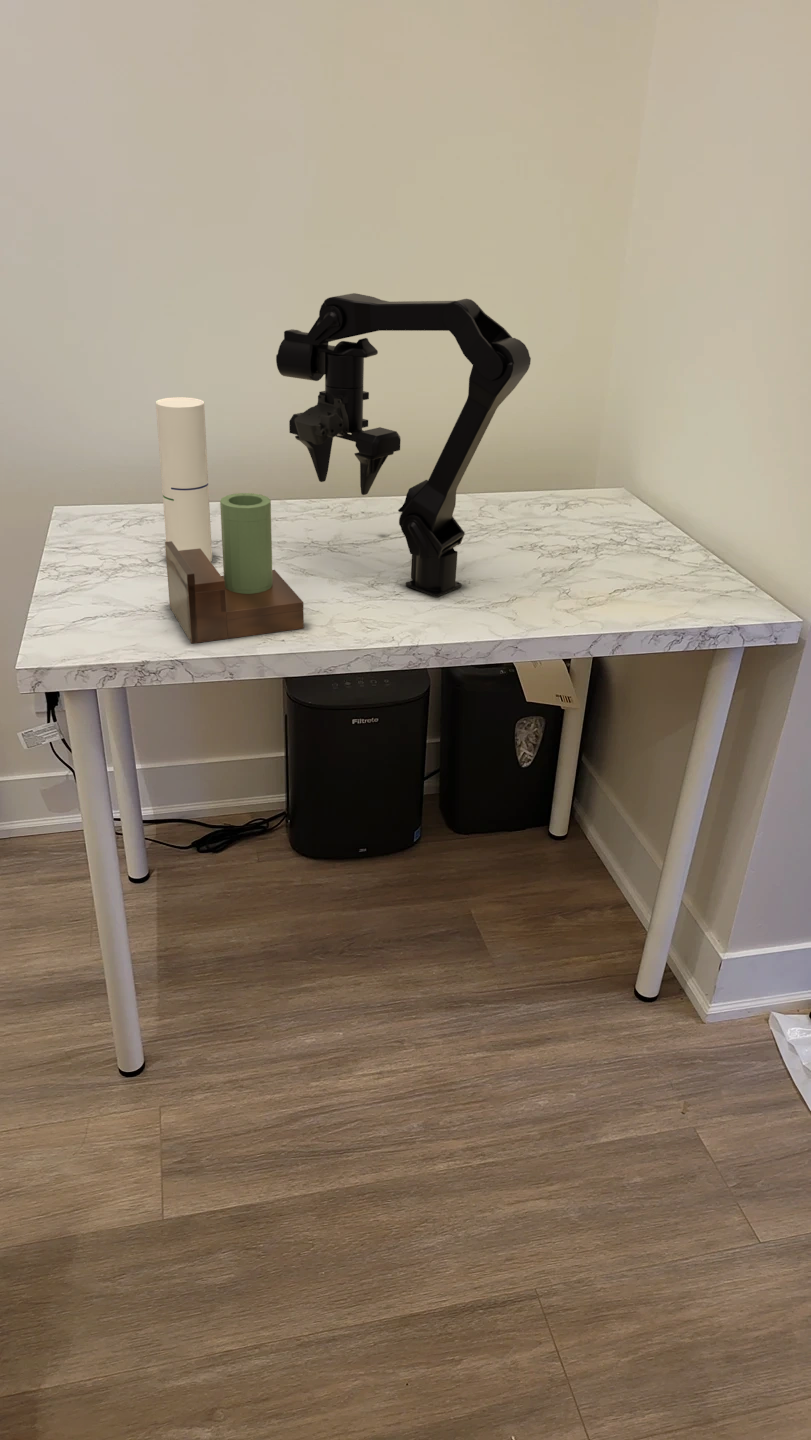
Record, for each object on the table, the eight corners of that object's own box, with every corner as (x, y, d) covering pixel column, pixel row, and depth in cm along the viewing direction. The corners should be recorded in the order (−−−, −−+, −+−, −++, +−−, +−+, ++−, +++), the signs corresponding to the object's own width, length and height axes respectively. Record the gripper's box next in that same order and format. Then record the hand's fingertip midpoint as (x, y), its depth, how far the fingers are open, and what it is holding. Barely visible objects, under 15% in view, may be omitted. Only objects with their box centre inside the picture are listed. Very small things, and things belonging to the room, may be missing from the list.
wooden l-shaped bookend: (275, 594, 156) (273, 530, 151) (303, 628, 146) (303, 561, 141) (169, 607, 150) (164, 541, 146) (191, 643, 140) (186, 574, 135)
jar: (280, 581, 150) (278, 497, 144) (258, 597, 145) (255, 510, 139) (239, 573, 152) (235, 490, 146) (215, 588, 147) (211, 503, 141)
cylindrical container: (202, 569, 164) (193, 409, 152) (160, 564, 165) (147, 405, 153) (218, 554, 170) (211, 399, 158) (177, 549, 171) (167, 395, 159)
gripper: (261, 381, 154) (264, 484, 161) (351, 403, 143) (350, 512, 151) (315, 372, 161) (315, 471, 169) (404, 393, 151) (400, 497, 158)
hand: (343, 487), depth 162 cm, fingers open, 9 cm apart
